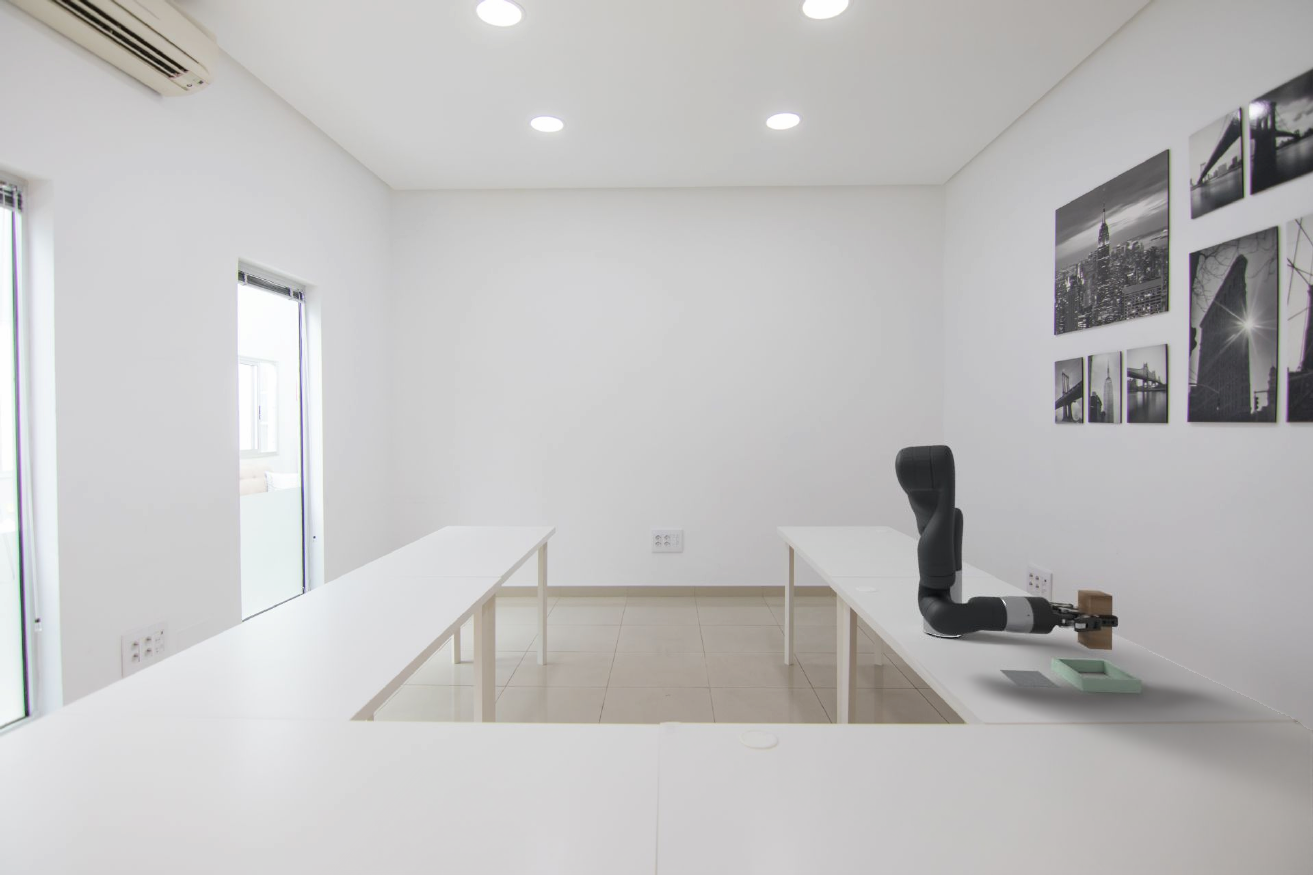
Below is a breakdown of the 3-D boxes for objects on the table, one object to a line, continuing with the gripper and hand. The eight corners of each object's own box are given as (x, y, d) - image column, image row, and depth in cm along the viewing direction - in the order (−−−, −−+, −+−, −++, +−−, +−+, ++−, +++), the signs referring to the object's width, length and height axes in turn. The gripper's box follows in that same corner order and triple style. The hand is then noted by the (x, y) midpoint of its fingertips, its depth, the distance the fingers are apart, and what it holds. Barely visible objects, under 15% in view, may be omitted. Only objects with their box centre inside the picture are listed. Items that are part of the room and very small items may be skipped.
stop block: (1077, 641, 126) (1078, 590, 126) (1098, 642, 126) (1099, 590, 126) (1090, 648, 122) (1090, 595, 122) (1112, 649, 122) (1112, 595, 122)
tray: (1051, 673, 130) (1051, 657, 130) (1104, 675, 129) (1105, 659, 129) (1082, 695, 119) (1082, 678, 119) (1141, 697, 118) (1141, 680, 118)
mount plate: (999, 674, 130) (999, 669, 130) (1038, 675, 129) (1038, 670, 129) (1018, 690, 122) (1018, 685, 122) (1059, 691, 121) (1059, 686, 121)
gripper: (1040, 606, 118) (1133, 609, 116) (1005, 588, 132) (1087, 590, 131) (1040, 644, 118) (1133, 647, 117) (1005, 621, 132) (1087, 624, 131)
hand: (1108, 617), depth 124 cm, fingers closed on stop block, 4 cm apart
